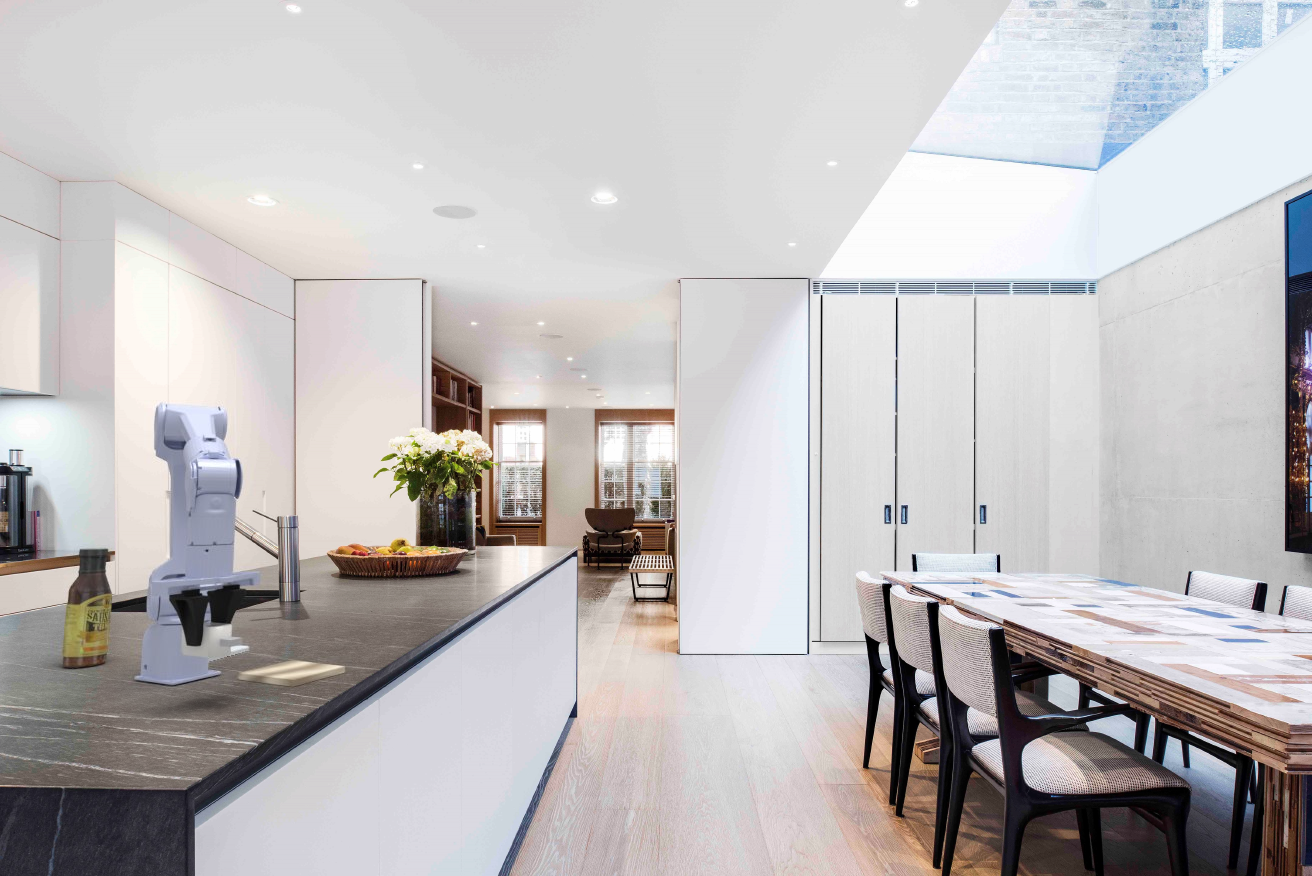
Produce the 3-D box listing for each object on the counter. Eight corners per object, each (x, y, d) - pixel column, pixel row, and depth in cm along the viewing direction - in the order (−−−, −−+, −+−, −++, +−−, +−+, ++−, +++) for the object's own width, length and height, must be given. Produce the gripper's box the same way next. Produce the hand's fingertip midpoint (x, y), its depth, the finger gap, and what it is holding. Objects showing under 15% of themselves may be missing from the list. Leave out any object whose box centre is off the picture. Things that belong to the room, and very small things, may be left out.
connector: (176, 653, 102) (177, 624, 103) (196, 649, 105) (198, 621, 106) (225, 659, 99) (226, 629, 99) (245, 655, 101) (247, 625, 102)
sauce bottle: (88, 669, 124) (95, 549, 125) (51, 669, 124) (59, 549, 125) (117, 660, 130) (123, 547, 132) (82, 660, 130) (89, 547, 132)
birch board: (238, 679, 116) (238, 672, 116) (291, 666, 125) (292, 660, 125) (292, 686, 111) (293, 680, 112) (344, 672, 121) (345, 666, 121)
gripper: (178, 548, 95) (172, 655, 94) (276, 542, 109) (272, 636, 107) (143, 547, 98) (137, 651, 97) (242, 541, 111) (238, 633, 110)
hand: (206, 643), depth 102 cm, fingers closed on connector, 3 cm apart
